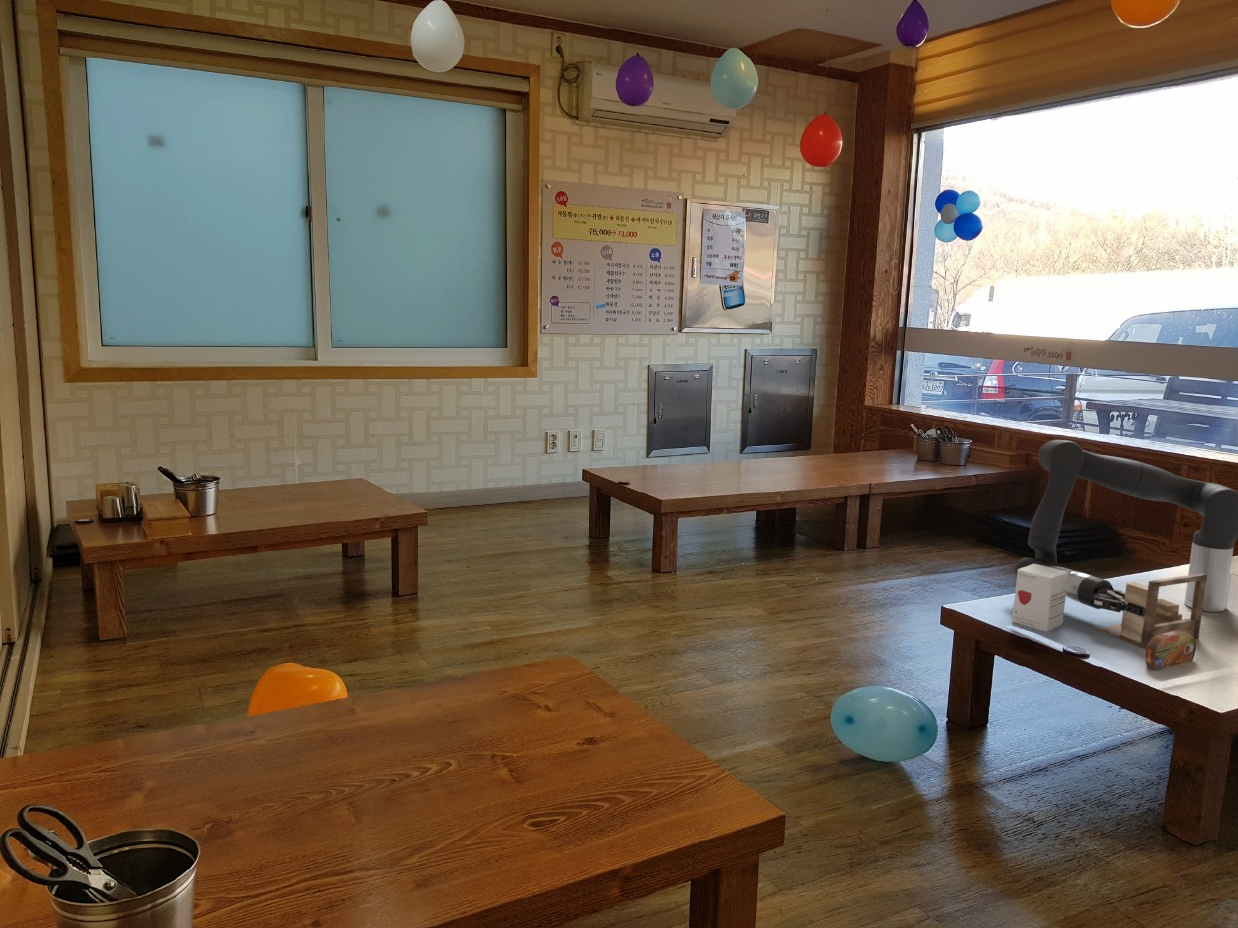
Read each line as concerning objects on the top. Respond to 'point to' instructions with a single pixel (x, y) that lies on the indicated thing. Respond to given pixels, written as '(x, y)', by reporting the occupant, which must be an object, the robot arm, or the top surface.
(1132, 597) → the pale wooden block
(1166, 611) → the offcut top
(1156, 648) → the tin
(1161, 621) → the offcut mid
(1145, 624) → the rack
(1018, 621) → the supplement box
